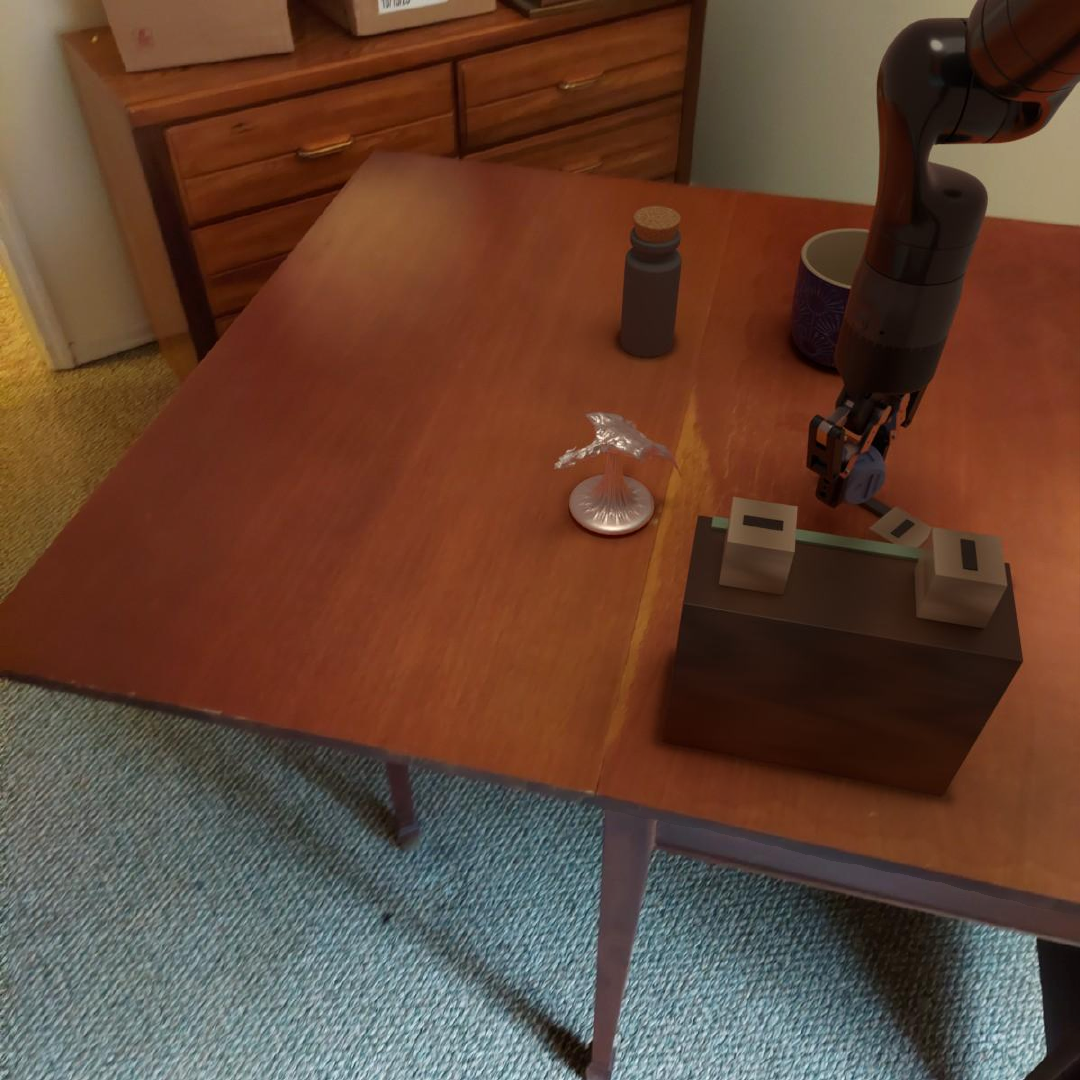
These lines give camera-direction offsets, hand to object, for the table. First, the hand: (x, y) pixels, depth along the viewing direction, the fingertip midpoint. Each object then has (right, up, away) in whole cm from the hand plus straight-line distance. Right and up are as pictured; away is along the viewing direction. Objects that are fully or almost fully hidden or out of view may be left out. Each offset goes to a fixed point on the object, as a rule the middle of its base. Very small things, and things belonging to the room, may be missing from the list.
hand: (847, 485), depth 82 cm
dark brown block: (-7, -18, -10) cm, 22 cm away
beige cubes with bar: (+4, -5, +2) cm, 7 cm away
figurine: (-20, -2, +5) cm, 21 cm away
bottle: (-15, +17, +24) cm, 33 cm away
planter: (+6, +16, +23) cm, 29 cm away
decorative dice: (0, 0, 0) cm, 1 cm away
